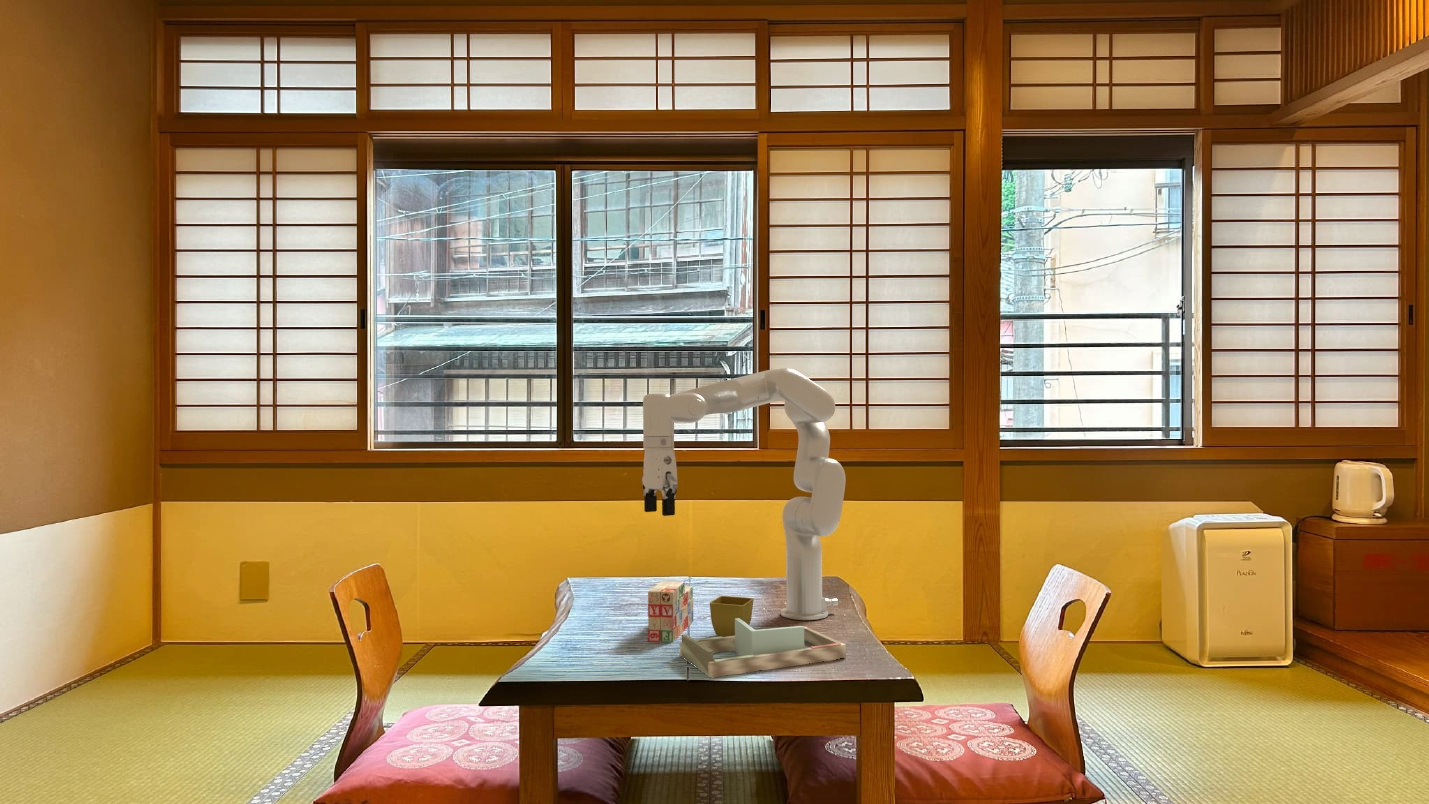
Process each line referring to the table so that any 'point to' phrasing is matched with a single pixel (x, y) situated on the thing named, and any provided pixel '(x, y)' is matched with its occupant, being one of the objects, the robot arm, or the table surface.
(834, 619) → the table surface
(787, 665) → the box
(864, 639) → the table surface
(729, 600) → the flower pot
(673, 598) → the stack of blocks
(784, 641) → the l-shaped corner panel
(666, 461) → the robot arm
